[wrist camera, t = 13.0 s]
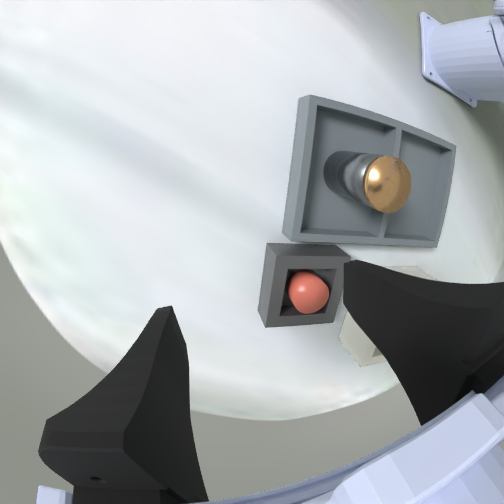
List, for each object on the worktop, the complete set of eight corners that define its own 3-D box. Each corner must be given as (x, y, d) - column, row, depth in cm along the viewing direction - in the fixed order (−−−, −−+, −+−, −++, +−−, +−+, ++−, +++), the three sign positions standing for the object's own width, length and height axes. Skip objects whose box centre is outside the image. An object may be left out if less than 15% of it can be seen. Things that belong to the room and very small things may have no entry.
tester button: (321, 269, 22) (332, 280, 20) (314, 299, 23) (324, 312, 21) (288, 269, 22) (297, 281, 20) (283, 301, 23) (291, 314, 21)
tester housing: (335, 245, 23) (350, 256, 21) (321, 307, 25) (333, 322, 23) (266, 243, 22) (276, 255, 19) (257, 310, 24) (265, 327, 22)
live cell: (355, 145, 20) (406, 150, 14) (365, 186, 21) (414, 203, 16) (317, 157, 20) (362, 164, 14) (329, 200, 21) (373, 220, 15)
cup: (417, 266, 26) (446, 285, 22) (395, 329, 29) (417, 352, 25) (359, 267, 25) (388, 290, 20) (338, 338, 27) (359, 367, 23)
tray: (441, 143, 22) (456, 145, 20) (424, 240, 25) (436, 247, 24) (298, 98, 18) (309, 94, 16) (282, 232, 22) (290, 241, 20)
